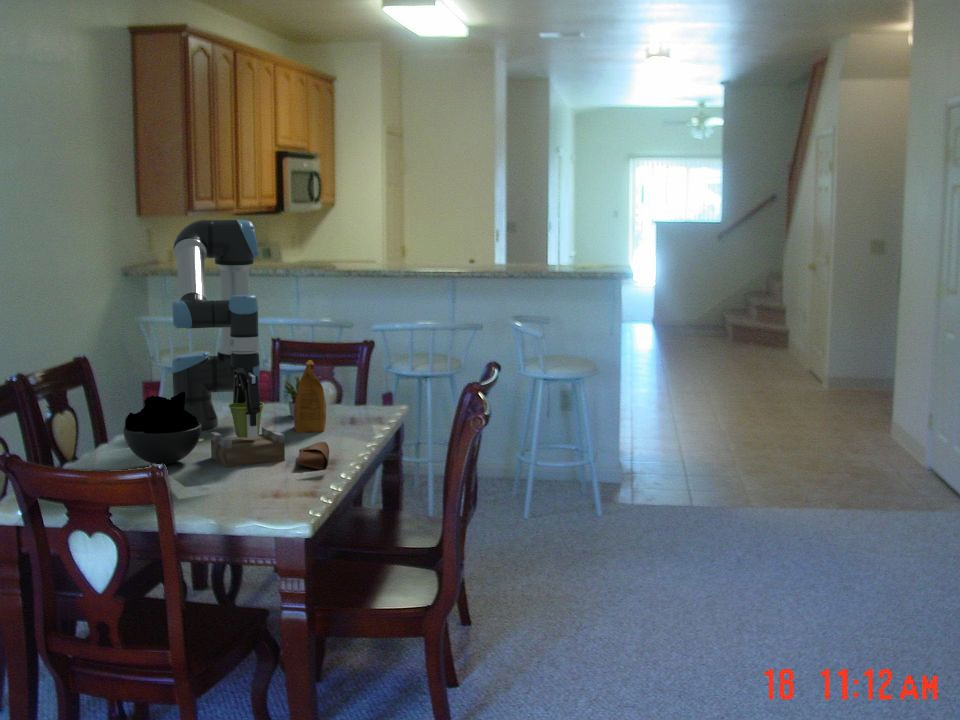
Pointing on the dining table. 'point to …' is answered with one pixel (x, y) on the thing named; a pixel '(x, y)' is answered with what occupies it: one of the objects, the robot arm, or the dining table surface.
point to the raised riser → (248, 448)
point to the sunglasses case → (314, 456)
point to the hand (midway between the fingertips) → (247, 434)
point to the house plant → (292, 393)
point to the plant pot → (242, 418)
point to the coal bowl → (162, 430)
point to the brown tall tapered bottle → (310, 403)
